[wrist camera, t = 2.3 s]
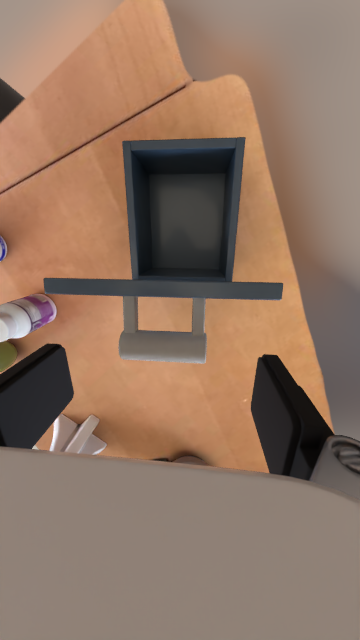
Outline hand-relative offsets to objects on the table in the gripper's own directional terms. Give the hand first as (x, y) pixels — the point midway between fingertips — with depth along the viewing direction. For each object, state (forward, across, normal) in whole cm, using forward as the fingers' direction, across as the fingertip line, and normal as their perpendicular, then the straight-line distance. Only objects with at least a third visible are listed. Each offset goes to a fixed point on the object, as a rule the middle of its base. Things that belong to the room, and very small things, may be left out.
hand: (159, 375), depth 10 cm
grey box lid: (+9, 0, -3) cm, 9 cm away
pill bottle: (+25, +25, +5) cm, 36 cm away
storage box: (+25, 0, -8) cm, 26 cm away
